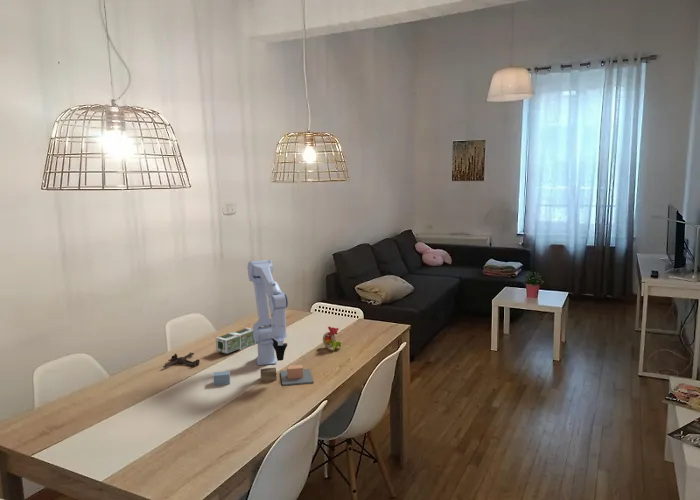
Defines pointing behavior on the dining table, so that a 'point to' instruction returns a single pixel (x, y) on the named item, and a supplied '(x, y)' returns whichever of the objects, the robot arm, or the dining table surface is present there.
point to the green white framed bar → (236, 340)
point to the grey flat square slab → (293, 381)
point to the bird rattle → (331, 338)
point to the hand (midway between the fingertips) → (279, 356)
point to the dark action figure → (182, 361)
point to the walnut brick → (268, 374)
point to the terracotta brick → (295, 371)
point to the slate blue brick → (221, 378)
